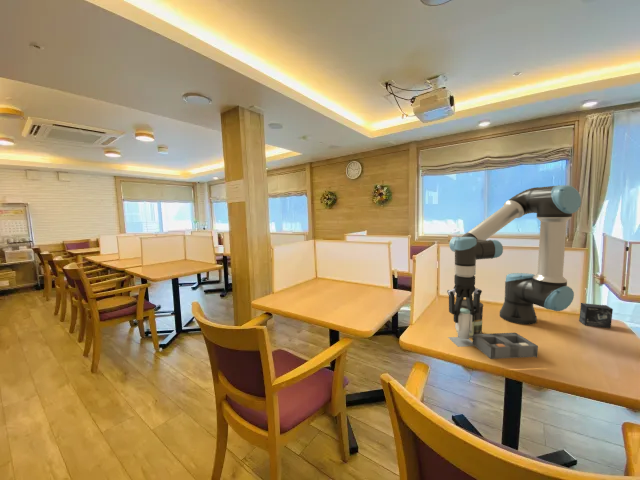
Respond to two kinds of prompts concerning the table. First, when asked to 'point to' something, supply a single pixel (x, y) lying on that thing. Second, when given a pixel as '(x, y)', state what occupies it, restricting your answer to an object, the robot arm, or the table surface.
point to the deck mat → (461, 341)
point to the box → (596, 315)
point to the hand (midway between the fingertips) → (463, 329)
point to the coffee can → (477, 319)
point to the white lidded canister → (464, 323)
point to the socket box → (505, 345)
